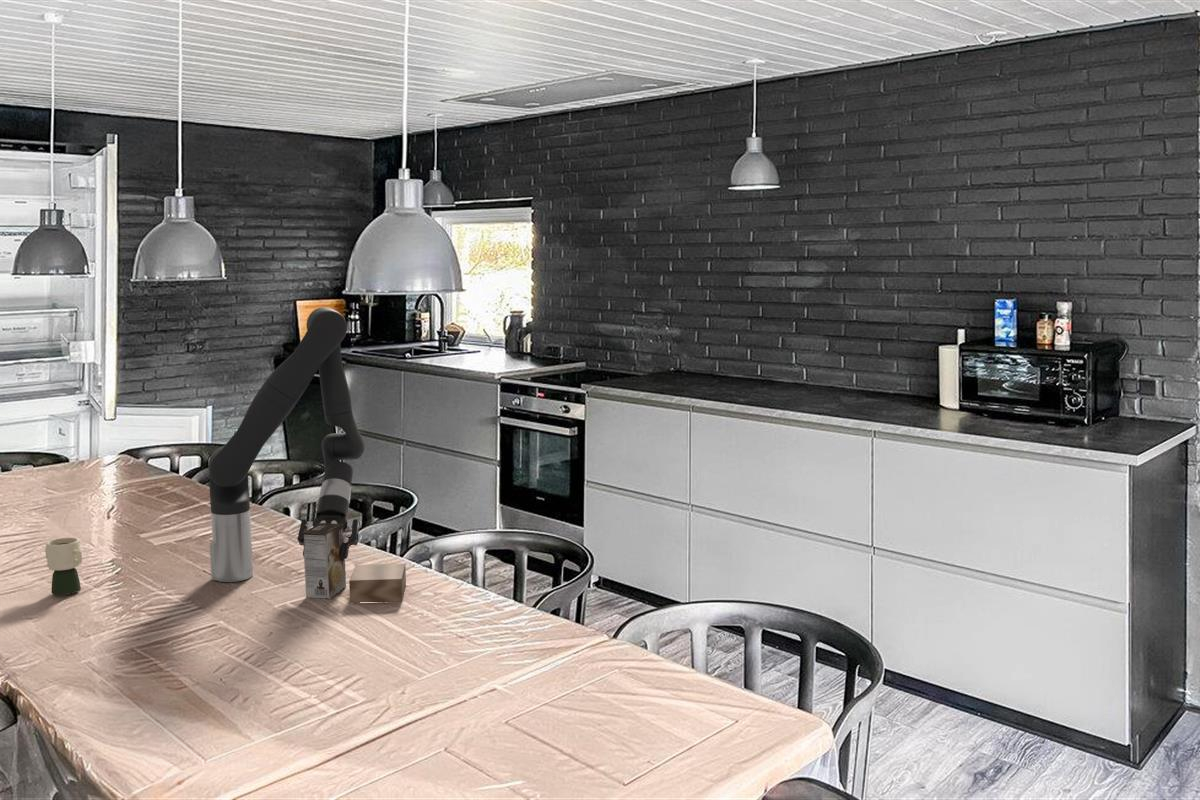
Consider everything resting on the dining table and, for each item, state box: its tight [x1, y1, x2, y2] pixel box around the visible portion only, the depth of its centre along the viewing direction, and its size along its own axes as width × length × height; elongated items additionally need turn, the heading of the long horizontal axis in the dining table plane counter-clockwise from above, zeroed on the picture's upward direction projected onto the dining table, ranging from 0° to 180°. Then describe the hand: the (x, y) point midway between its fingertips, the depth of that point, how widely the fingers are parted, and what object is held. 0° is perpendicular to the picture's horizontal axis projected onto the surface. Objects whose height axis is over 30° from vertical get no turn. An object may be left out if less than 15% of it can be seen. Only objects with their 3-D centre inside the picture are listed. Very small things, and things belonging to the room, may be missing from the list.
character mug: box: [45, 536, 83, 596], centre depth 249 cm, size 11×7×13 cm, turn 70°
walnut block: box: [348, 563, 407, 604], centre depth 249 cm, size 12×12×6 cm
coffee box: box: [303, 523, 347, 599], centre depth 250 cm, size 9×6×16 cm
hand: (324, 559), depth 250 cm, fingers open, 8 cm apart
